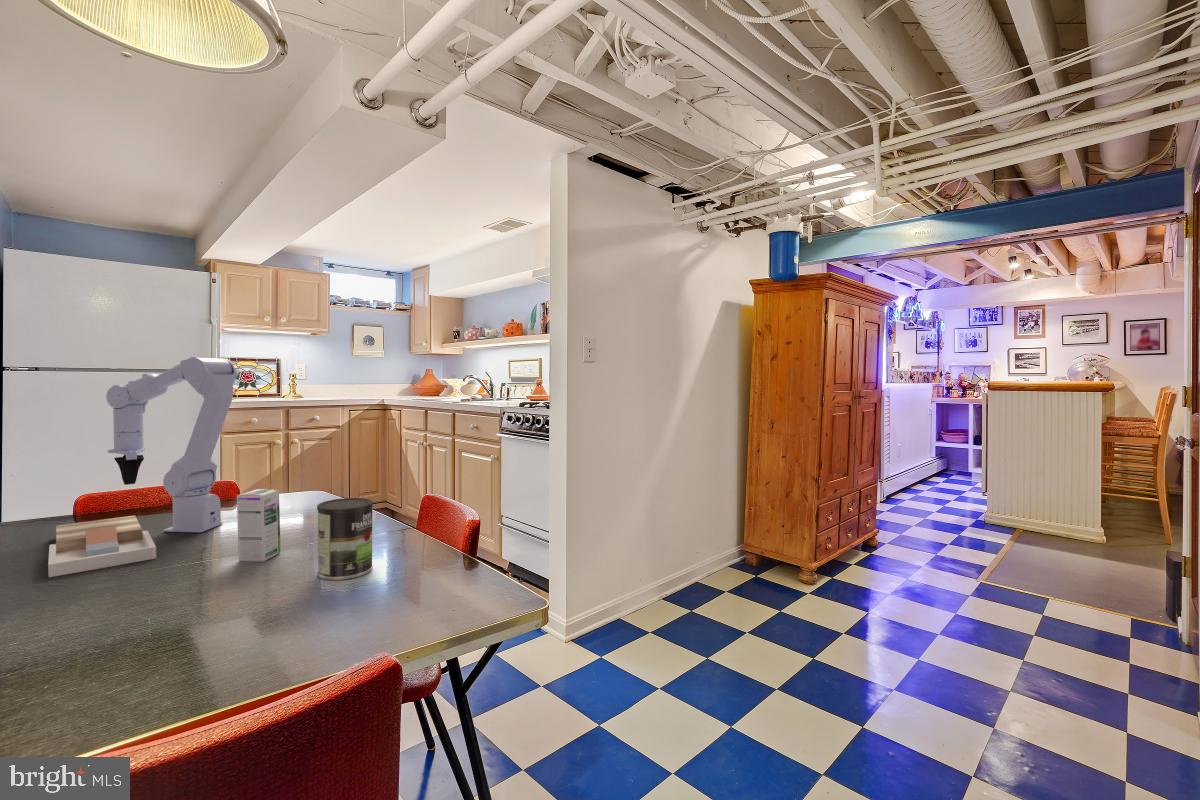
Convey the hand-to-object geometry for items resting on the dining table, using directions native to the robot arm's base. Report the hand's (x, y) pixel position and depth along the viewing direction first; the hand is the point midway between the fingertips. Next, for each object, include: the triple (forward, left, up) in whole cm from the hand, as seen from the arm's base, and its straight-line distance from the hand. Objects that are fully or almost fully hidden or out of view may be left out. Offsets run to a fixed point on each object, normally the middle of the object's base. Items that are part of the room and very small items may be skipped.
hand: (129, 483), depth 138 cm
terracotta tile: (-12, +21, -9) cm, 25 cm away
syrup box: (-48, +23, -11) cm, 54 cm away
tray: (-16, +25, -10) cm, 31 cm away
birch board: (-5, +14, -10) cm, 18 cm away
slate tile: (-16, +25, -8) cm, 30 cm away
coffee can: (-70, +30, -11) cm, 77 cm away
